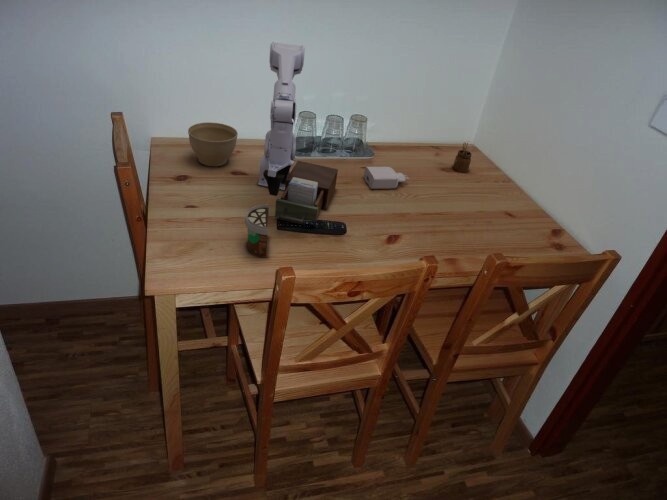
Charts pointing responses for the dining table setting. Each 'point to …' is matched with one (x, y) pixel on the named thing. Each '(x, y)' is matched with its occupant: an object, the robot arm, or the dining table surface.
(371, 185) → the charger
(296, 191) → the medicine box
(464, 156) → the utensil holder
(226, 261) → the dining table surface
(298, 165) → the cabinet
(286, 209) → the drawer
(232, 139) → the planter bowl
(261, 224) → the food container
